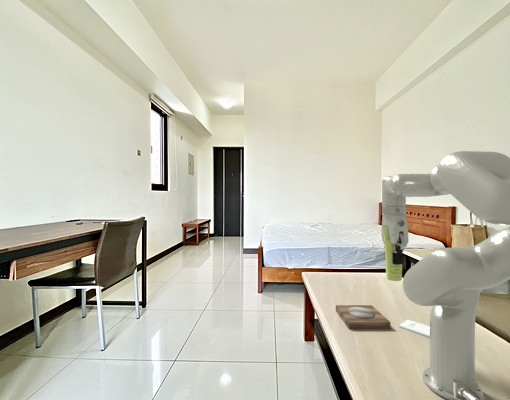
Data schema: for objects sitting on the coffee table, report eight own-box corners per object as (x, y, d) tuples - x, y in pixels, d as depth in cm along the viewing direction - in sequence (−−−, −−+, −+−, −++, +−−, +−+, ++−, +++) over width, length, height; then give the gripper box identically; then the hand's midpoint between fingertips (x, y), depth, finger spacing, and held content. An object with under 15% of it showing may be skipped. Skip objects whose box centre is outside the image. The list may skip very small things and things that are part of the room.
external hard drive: (436, 342, 91) (399, 328, 101) (444, 334, 96) (407, 322, 106) (436, 337, 91) (399, 324, 101) (444, 330, 96) (407, 318, 106)
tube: (397, 283, 89) (397, 225, 88) (382, 279, 93) (382, 224, 92) (404, 279, 92) (404, 224, 92) (390, 276, 96) (390, 223, 96)
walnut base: (390, 328, 100) (390, 320, 100) (348, 328, 100) (348, 320, 100) (371, 310, 116) (371, 304, 116) (335, 310, 116) (335, 304, 116)
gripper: (419, 212, 84) (418, 268, 84) (391, 209, 101) (391, 256, 101) (395, 212, 84) (395, 268, 84) (372, 209, 101) (372, 256, 101)
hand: (393, 261), depth 92 cm, fingers closed on tube, 4 cm apart
